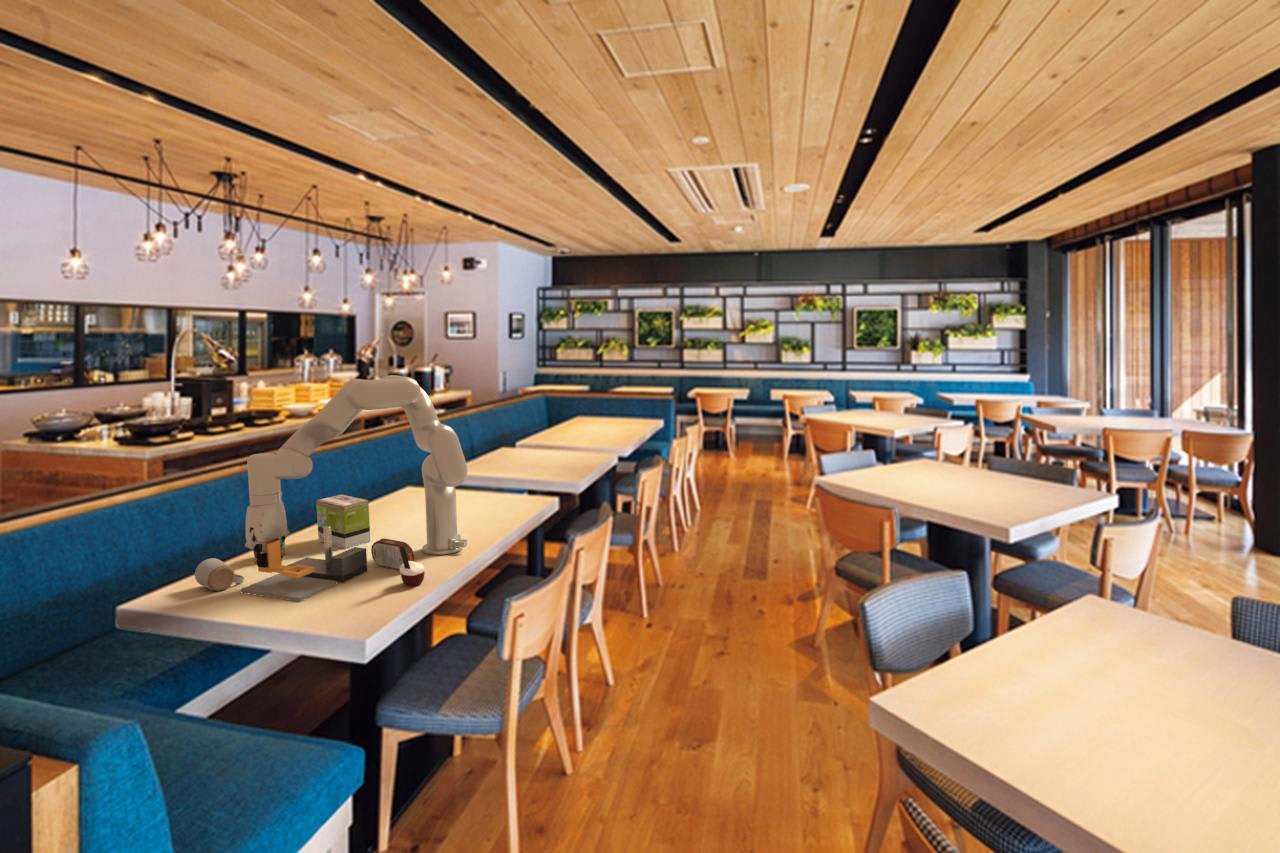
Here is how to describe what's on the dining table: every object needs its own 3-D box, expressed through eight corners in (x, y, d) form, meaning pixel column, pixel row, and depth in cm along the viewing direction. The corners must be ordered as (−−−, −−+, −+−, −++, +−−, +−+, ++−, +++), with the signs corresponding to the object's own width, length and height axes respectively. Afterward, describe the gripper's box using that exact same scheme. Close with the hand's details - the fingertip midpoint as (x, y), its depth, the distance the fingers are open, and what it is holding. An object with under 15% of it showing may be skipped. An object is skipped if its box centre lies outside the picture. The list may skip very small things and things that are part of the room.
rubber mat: (336, 584, 189) (336, 580, 189) (300, 601, 177) (300, 597, 177) (279, 576, 195) (278, 573, 195) (240, 592, 183) (240, 589, 183)
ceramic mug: (209, 595, 181) (207, 567, 180) (195, 589, 185) (193, 561, 185) (250, 584, 190) (248, 557, 189) (235, 578, 194) (234, 552, 193)
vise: (367, 571, 200) (365, 525, 198) (343, 583, 190) (340, 534, 188) (306, 563, 206) (304, 519, 204) (280, 574, 197) (277, 527, 195)
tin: (415, 570, 201) (414, 542, 200) (408, 573, 198) (406, 545, 197) (378, 562, 208) (376, 536, 206) (370, 566, 205) (368, 538, 204)
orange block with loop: (315, 571, 186) (313, 542, 185) (298, 578, 180) (296, 549, 179) (273, 565, 190) (271, 537, 189) (255, 572, 185) (253, 544, 184)
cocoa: (418, 579, 195) (417, 537, 194) (432, 582, 191) (431, 540, 190) (389, 587, 187) (388, 544, 186) (404, 591, 183) (403, 547, 182)
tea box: (317, 542, 228) (314, 499, 226) (344, 535, 237) (341, 493, 235) (345, 549, 220) (342, 505, 218) (371, 541, 229) (369, 499, 227)
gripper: (279, 491, 193) (283, 553, 196) (228, 505, 178) (232, 572, 180) (300, 493, 191) (304, 556, 194) (250, 507, 175) (255, 575, 178)
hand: (269, 563), depth 187 cm, fingers closed on orange block with loop, 4 cm apart
